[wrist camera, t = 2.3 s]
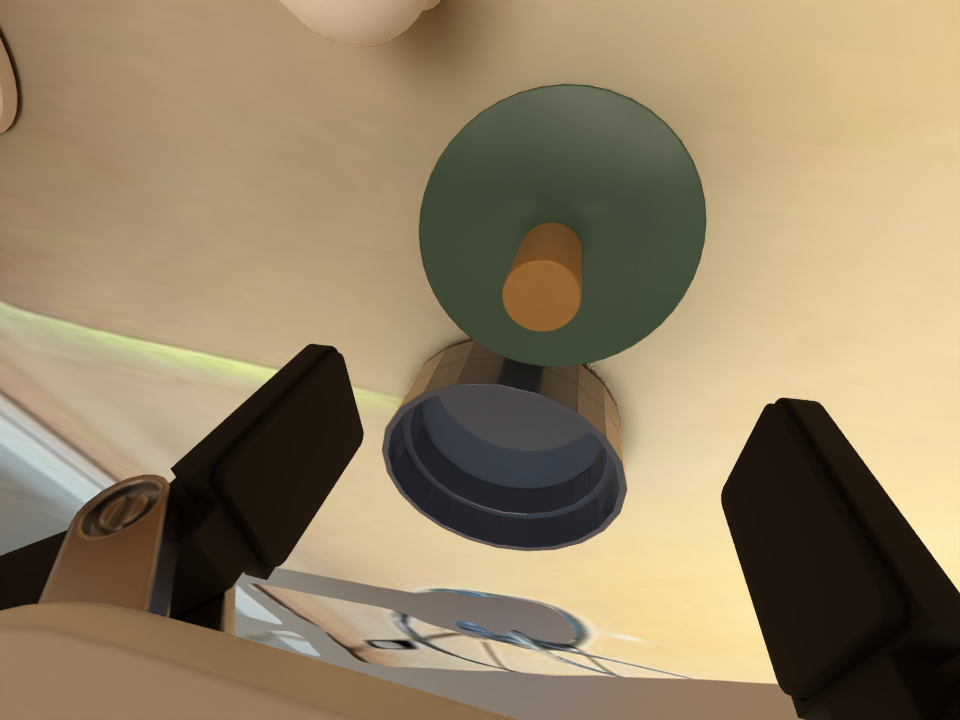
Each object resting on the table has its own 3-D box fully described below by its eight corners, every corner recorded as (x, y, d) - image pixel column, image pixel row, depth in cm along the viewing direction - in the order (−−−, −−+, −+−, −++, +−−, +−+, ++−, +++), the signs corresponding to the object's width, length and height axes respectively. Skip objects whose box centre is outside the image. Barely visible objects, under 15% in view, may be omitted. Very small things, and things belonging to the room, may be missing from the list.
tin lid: (437, 345, 25) (400, 407, 20) (411, 88, 17) (341, 88, 12) (660, 367, 22) (682, 446, 17) (746, 79, 15) (826, 74, 10)
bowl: (422, 475, 40) (400, 528, 35) (397, 323, 30) (361, 368, 25) (601, 506, 37) (603, 569, 32) (641, 346, 27) (653, 402, 22)
